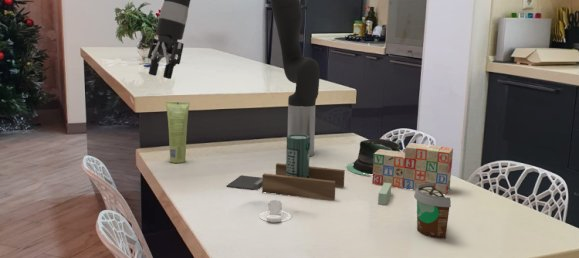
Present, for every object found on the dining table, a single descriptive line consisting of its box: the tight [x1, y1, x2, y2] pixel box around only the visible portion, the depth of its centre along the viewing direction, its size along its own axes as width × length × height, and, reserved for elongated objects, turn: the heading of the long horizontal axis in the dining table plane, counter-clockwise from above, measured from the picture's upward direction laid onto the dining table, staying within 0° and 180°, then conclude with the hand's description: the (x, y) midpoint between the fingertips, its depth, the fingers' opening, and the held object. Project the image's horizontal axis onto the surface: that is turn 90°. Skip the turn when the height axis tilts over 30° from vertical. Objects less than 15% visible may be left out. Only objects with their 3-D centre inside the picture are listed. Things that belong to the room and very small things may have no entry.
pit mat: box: [225, 174, 262, 191], centre depth 173 cm, size 11×9×2 cm
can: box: [285, 134, 310, 178], centre depth 167 cm, size 6×6×15 cm
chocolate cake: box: [345, 138, 401, 177], centre depth 191 cm, size 15×19×20 cm
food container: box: [413, 182, 452, 240], centre depth 139 cm, size 12×6×10 cm, turn 5°
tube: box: [165, 100, 190, 164], centre depth 193 cm, size 6×5×20 cm
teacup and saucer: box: [258, 199, 293, 223], centre depth 146 cm, size 9×8×4 cm
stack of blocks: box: [371, 142, 454, 196], centre depth 172 cm, size 21×6×12 cm, turn 66°
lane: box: [261, 162, 346, 202], centre depth 168 cm, size 13×20×5 cm, turn 73°
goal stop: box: [377, 183, 392, 206], centre depth 162 cm, size 10×2×3 cm, turn 163°
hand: (159, 76), depth 170 cm, fingers open, 8 cm apart
